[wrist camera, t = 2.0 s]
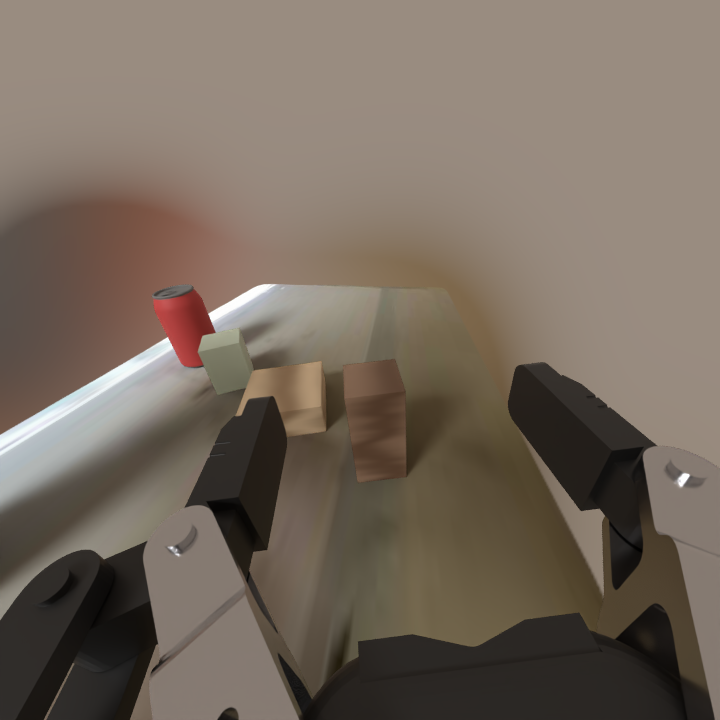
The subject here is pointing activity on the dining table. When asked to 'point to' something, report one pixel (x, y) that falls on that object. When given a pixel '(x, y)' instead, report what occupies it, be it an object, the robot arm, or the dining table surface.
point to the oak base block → (292, 395)
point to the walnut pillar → (376, 419)
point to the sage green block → (226, 360)
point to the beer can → (183, 321)
